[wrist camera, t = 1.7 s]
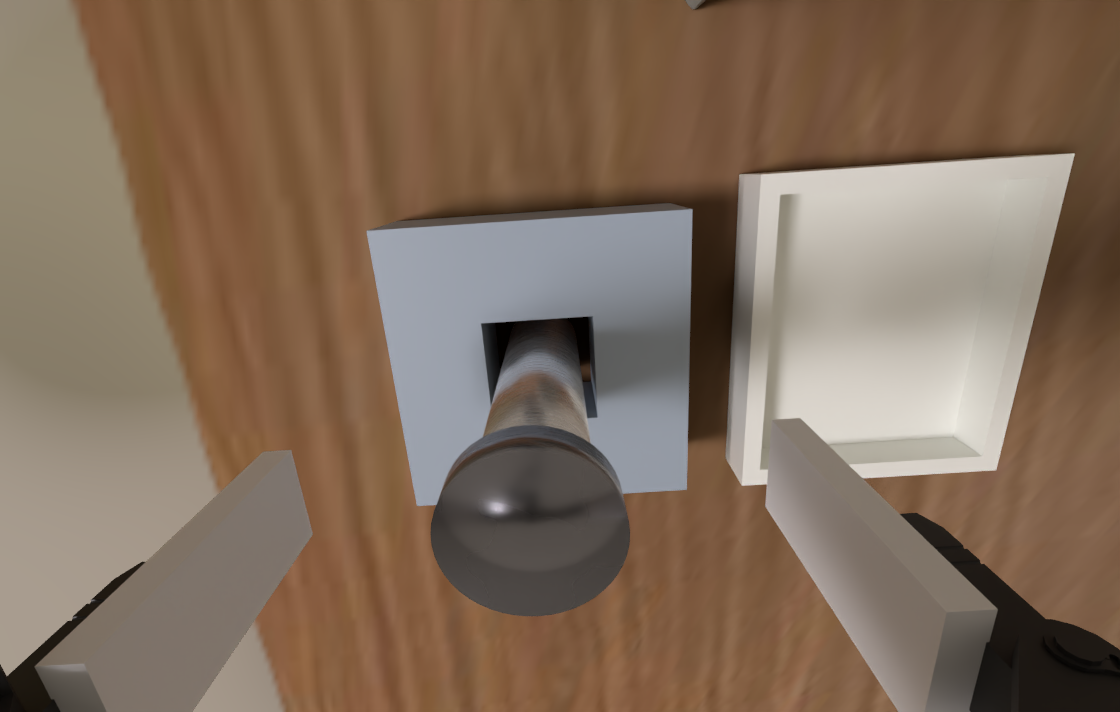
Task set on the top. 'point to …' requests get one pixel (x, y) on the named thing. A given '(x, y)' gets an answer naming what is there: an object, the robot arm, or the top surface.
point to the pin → (533, 489)
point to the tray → (888, 308)
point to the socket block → (534, 294)
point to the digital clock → (694, 3)
